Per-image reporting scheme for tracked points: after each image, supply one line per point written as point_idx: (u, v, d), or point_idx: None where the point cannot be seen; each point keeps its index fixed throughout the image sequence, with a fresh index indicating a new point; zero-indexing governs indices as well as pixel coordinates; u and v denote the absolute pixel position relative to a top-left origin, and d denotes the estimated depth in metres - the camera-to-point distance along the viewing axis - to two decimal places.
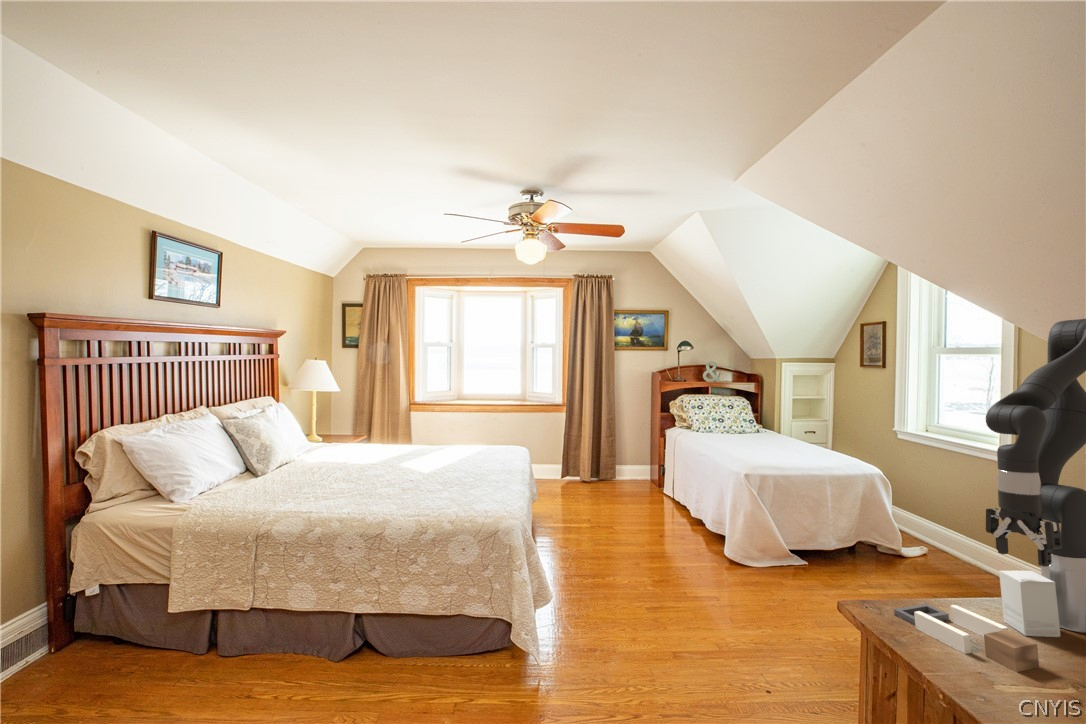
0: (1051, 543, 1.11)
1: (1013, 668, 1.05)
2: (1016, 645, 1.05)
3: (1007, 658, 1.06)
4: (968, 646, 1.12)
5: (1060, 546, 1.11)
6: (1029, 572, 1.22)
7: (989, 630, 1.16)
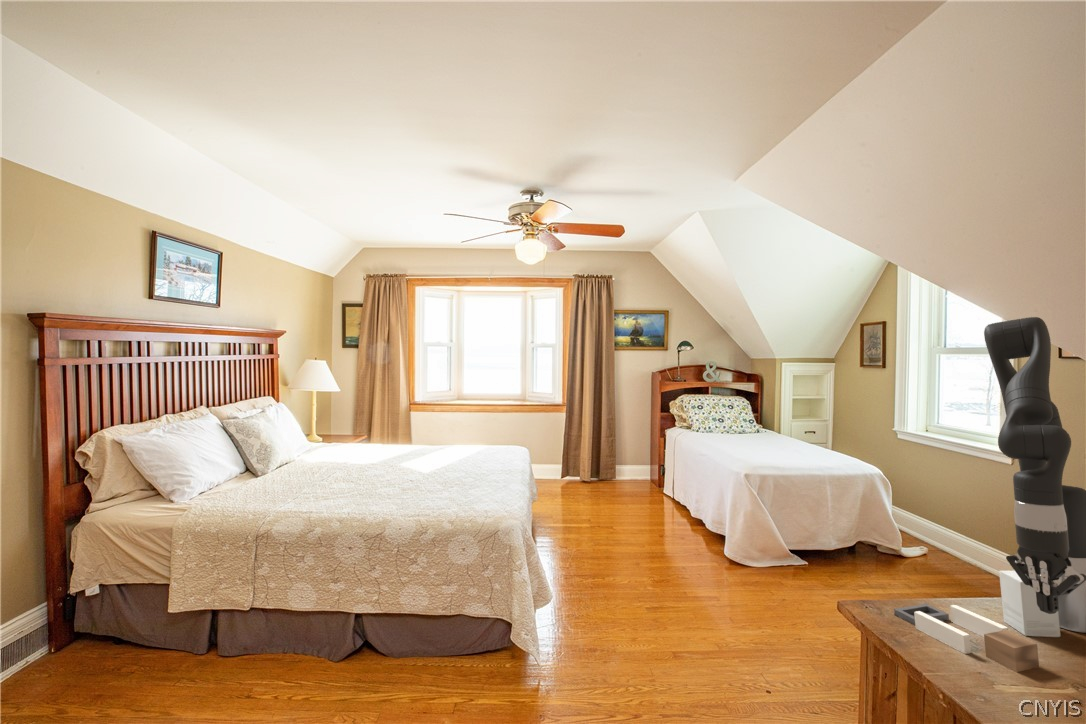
0: (1061, 591, 0.97)
1: (1013, 668, 1.05)
2: (1016, 645, 1.05)
3: (1007, 658, 1.06)
4: (968, 646, 1.12)
5: (1068, 593, 0.98)
6: None
7: (989, 630, 1.16)
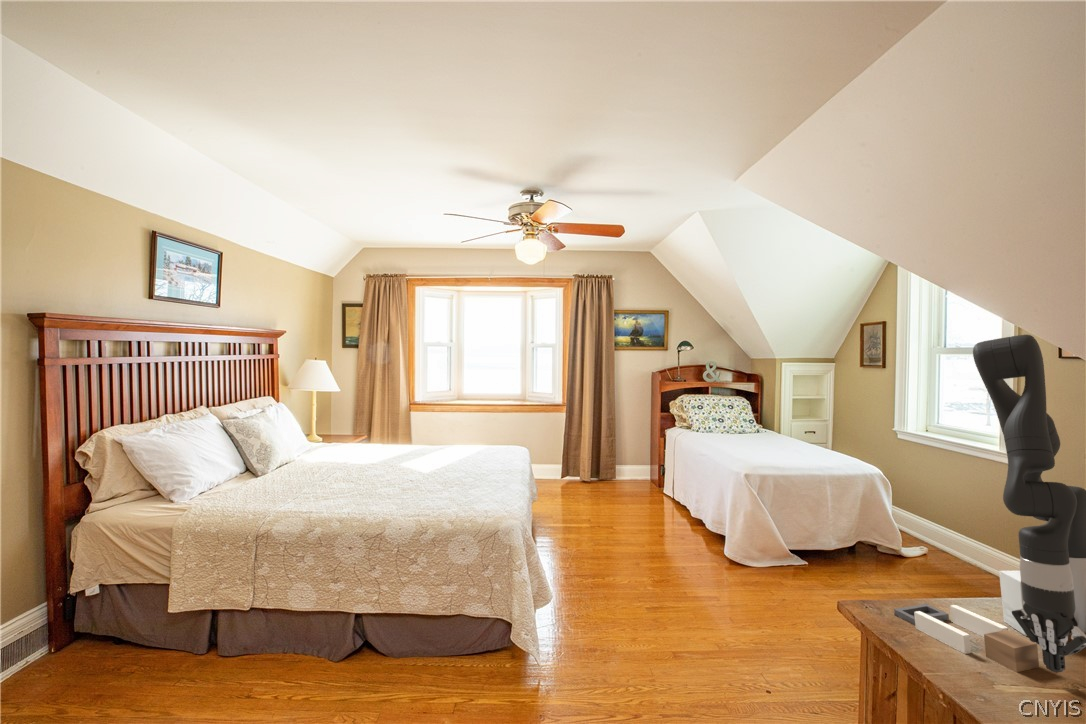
0: (1067, 651, 0.97)
1: (1013, 668, 1.05)
2: (1017, 645, 1.05)
3: (1007, 658, 1.06)
4: (968, 646, 1.12)
5: (1074, 653, 0.97)
6: None
7: (989, 630, 1.16)
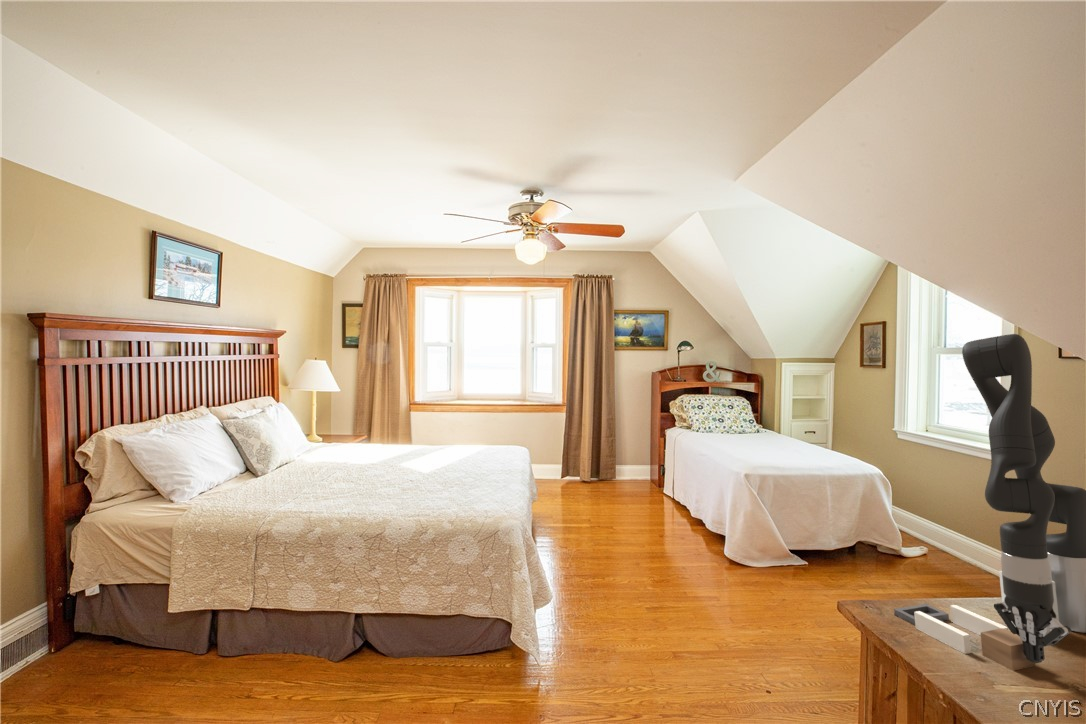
0: (1046, 642, 1.00)
1: (1010, 666, 1.05)
2: (1013, 643, 1.06)
3: (1003, 656, 1.06)
4: (968, 646, 1.12)
5: (1053, 644, 1.01)
6: None
7: (989, 630, 1.16)
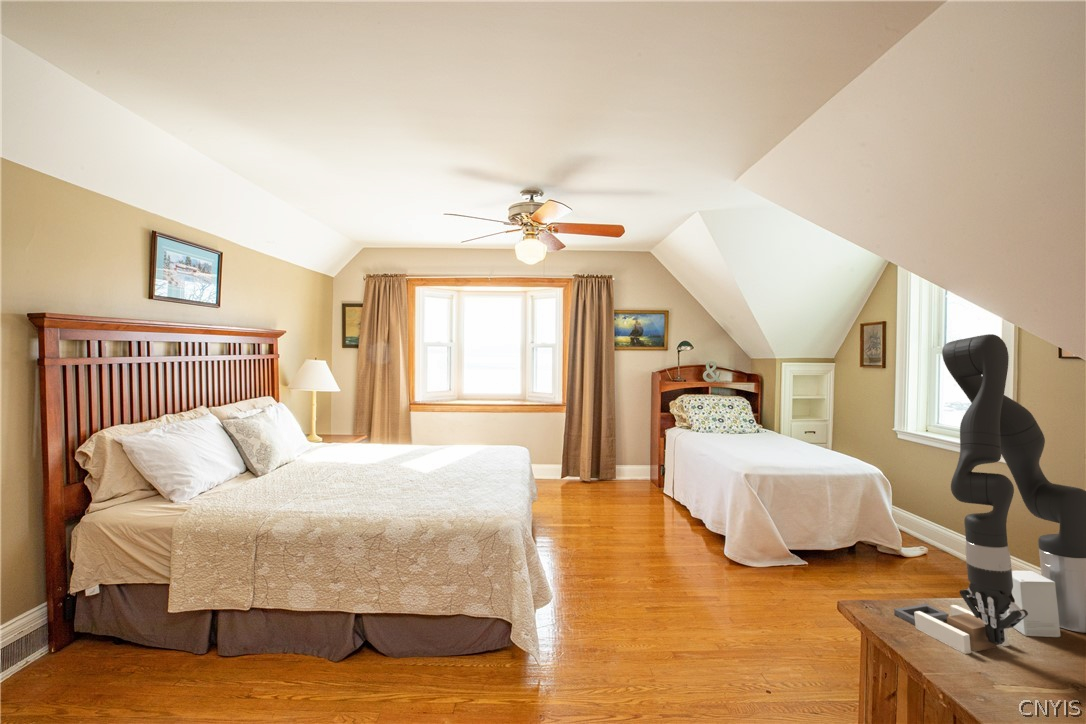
0: (1005, 625, 1.07)
1: (972, 648, 1.13)
2: (975, 626, 1.13)
3: None
4: (968, 646, 1.12)
5: (1012, 626, 1.08)
6: (1028, 572, 1.22)
7: None
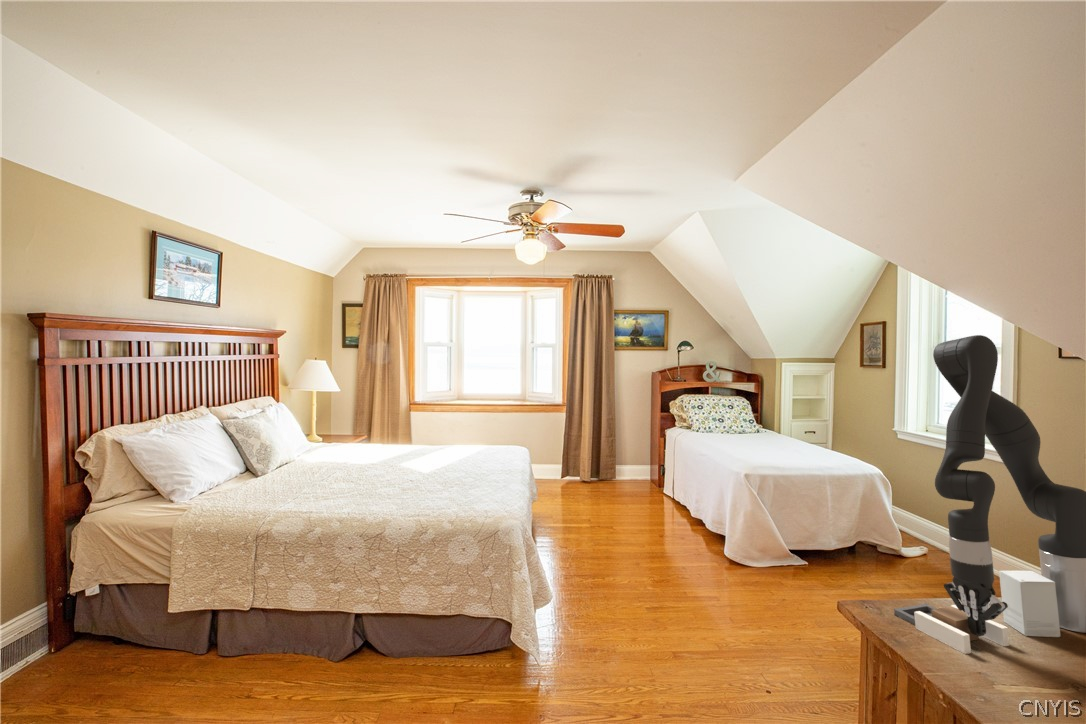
0: (986, 617, 1.11)
1: None
2: (958, 618, 1.17)
3: None
4: (968, 646, 1.12)
5: (993, 618, 1.12)
6: (1028, 572, 1.22)
7: (989, 630, 1.16)
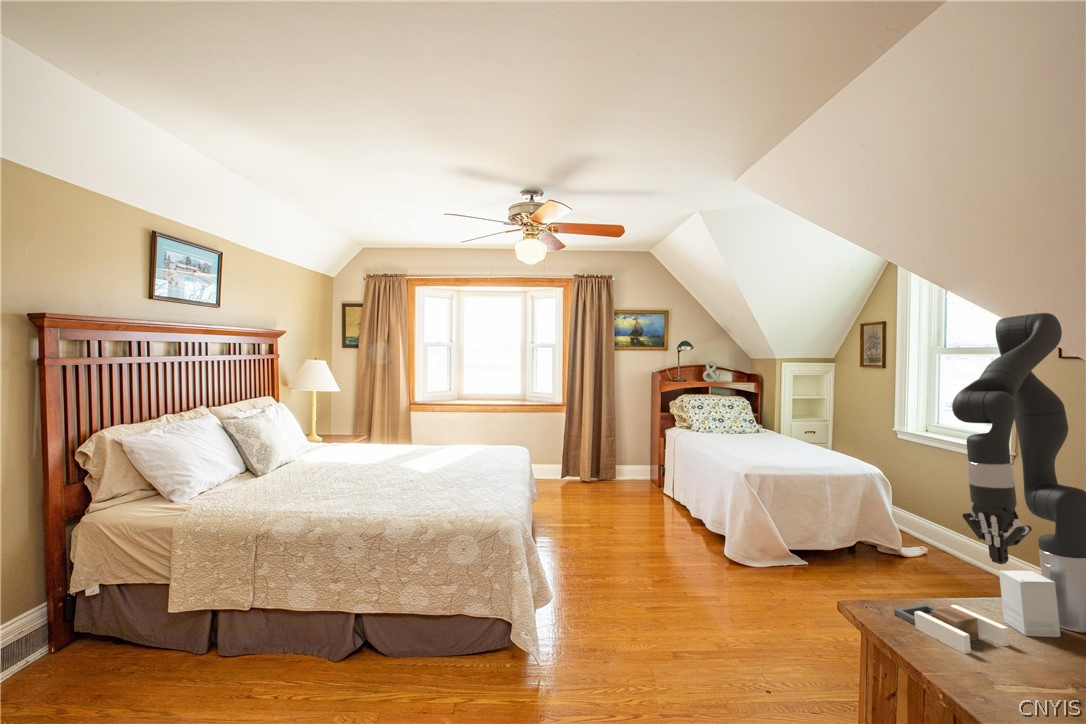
0: (1009, 542, 1.06)
1: None
2: (958, 619, 1.17)
3: None
4: (968, 646, 1.12)
5: (1016, 544, 1.06)
6: (1028, 572, 1.22)
7: (989, 630, 1.16)
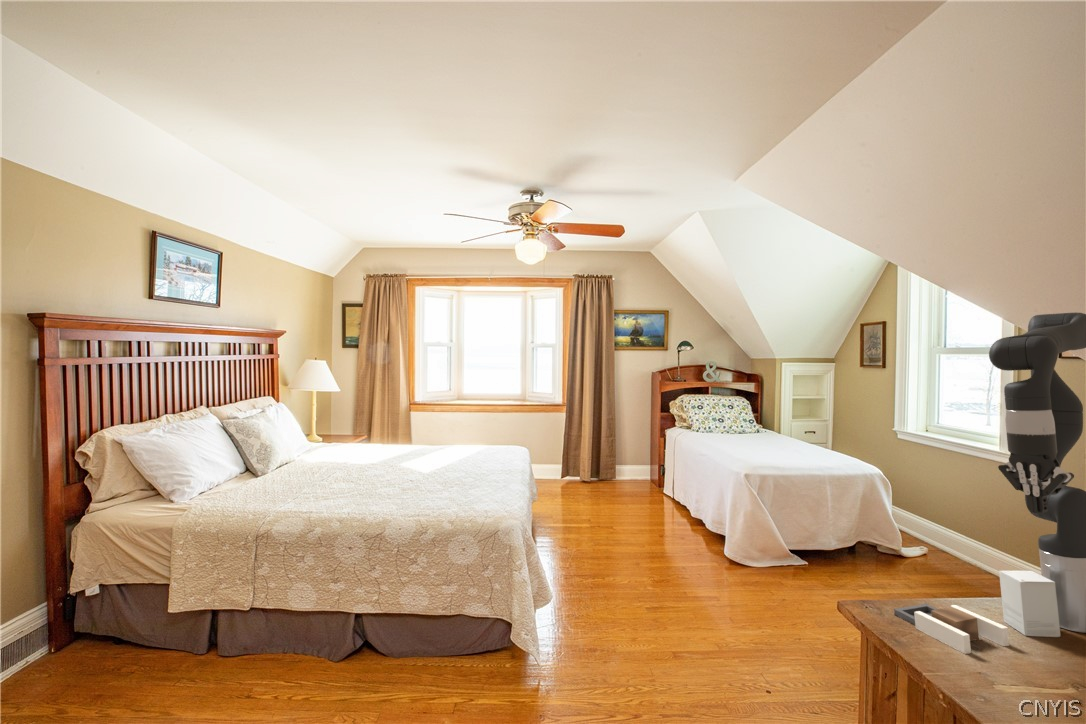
0: (1049, 491, 1.02)
1: None
2: (958, 619, 1.17)
3: None
4: (968, 646, 1.12)
5: (1056, 493, 1.03)
6: (1028, 572, 1.22)
7: (989, 630, 1.16)
